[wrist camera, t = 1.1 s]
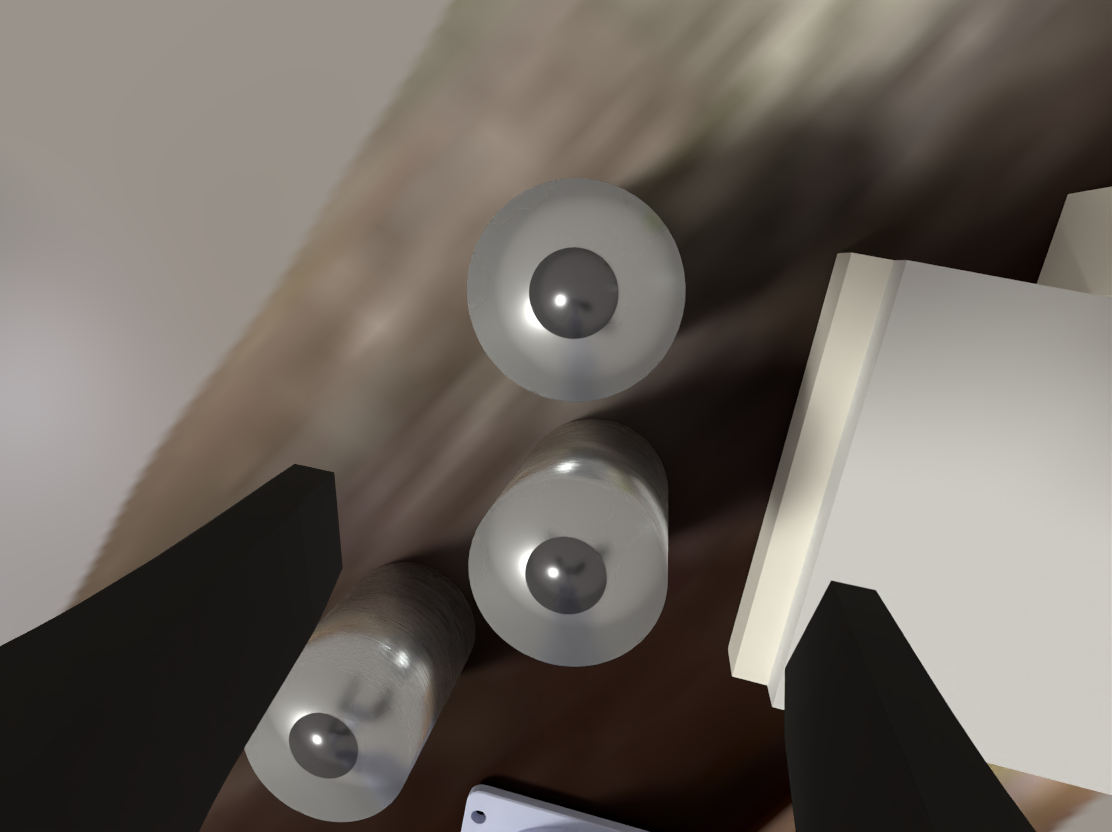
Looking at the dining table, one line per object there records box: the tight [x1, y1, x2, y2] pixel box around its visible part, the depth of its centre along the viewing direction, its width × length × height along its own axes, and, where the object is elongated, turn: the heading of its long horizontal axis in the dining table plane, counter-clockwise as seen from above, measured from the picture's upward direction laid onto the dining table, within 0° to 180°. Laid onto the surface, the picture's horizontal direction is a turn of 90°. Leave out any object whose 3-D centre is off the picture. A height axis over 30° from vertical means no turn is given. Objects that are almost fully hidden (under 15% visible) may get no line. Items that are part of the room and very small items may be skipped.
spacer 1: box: [245, 562, 475, 822], centre depth 20 cm, size 4×4×6 cm
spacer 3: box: [468, 419, 668, 667], centre depth 18 cm, size 4×4×6 cm
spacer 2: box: [467, 178, 686, 402], centre depth 17 cm, size 4×4×6 cm
